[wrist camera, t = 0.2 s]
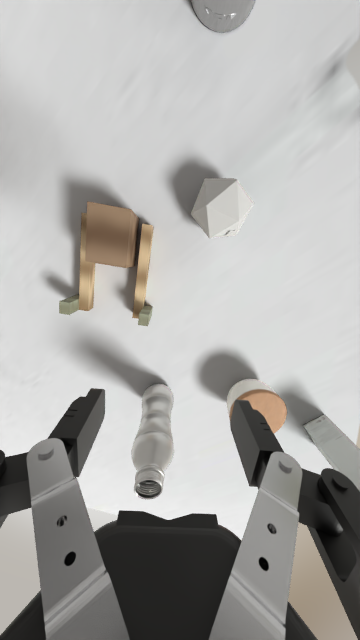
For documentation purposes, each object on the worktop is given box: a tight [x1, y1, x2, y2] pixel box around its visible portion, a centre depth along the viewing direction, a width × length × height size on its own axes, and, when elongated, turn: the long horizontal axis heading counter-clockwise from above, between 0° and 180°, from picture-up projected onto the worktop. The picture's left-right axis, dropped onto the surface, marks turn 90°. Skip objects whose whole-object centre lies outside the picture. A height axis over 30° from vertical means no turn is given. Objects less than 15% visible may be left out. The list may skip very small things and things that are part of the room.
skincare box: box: [303, 415, 360, 491], centre depth 43 cm, size 8×6×15 cm
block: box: [85, 201, 139, 268], centre depth 33 cm, size 8×6×7 cm
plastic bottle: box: [131, 384, 174, 499], centre depth 36 cm, size 6×7×20 cm
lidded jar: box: [227, 379, 287, 433], centre depth 42 cm, size 11×11×9 cm
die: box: [191, 178, 254, 238], centre depth 32 cm, size 8×9×10 cm
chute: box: [59, 213, 153, 326], centre depth 35 cm, size 16×14×6 cm
